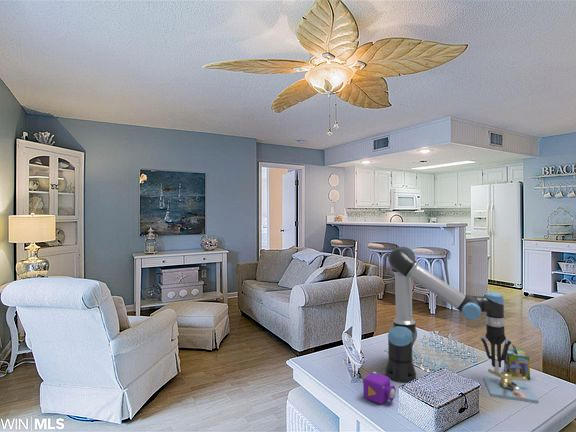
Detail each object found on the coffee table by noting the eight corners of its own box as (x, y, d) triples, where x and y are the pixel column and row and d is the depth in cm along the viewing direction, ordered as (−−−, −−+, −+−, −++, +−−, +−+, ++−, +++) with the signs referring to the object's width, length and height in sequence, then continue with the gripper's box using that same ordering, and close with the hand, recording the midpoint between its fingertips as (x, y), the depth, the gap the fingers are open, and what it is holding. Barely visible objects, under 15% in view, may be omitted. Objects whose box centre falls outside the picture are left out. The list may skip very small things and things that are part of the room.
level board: (491, 396, 152) (490, 392, 152) (483, 378, 168) (483, 375, 168) (538, 403, 146) (538, 399, 146) (525, 384, 162) (525, 381, 162)
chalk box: (530, 380, 166) (530, 350, 166) (509, 377, 169) (508, 348, 169) (523, 371, 175) (523, 343, 175) (503, 369, 178) (503, 341, 178)
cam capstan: (513, 398, 146) (512, 385, 146) (477, 381, 162) (477, 368, 162) (535, 391, 153) (535, 377, 153) (498, 374, 168) (498, 363, 168)
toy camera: (392, 409, 142) (392, 386, 142) (361, 400, 149) (361, 378, 149) (399, 397, 151) (398, 375, 151) (369, 389, 158) (369, 368, 158)
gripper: (481, 326, 162) (483, 375, 162) (512, 328, 158) (514, 378, 158) (478, 321, 169) (480, 368, 169) (508, 323, 165) (509, 371, 165)
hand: (496, 373), depth 163 cm, fingers closed
